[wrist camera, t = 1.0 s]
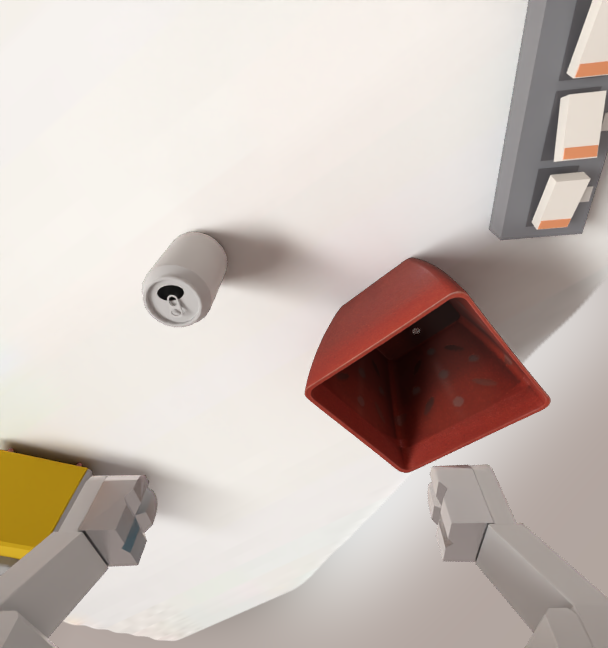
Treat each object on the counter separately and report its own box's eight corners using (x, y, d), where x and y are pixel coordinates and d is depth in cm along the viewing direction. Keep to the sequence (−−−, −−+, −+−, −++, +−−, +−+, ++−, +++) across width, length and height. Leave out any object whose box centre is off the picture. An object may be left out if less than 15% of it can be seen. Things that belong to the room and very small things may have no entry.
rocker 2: (560, 97, 37) (570, 94, 35) (596, 94, 36) (607, 90, 35) (553, 161, 38) (562, 160, 37) (587, 158, 38) (597, 157, 37)
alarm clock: (-2, 485, 80) (-77, 584, 65) (-11, 436, 72) (-99, 538, 56) (96, 504, 83) (47, 603, 68) (99, 460, 75) (44, 562, 60)
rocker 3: (550, 174, 39) (557, 182, 38) (583, 171, 39) (591, 179, 38) (531, 222, 43) (536, 230, 42) (561, 219, 43) (567, 227, 42)
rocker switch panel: (548, -113, 32) (572, -131, 29) (665, -130, 31) (702, -150, 28) (489, 229, 48) (500, 240, 45) (565, 223, 47) (582, 233, 44)
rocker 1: (594, -6, 31) (604, -2, 30) (636, -11, 31) (647, -8, 30) (566, 73, 36) (574, 78, 35) (603, 69, 35) (611, 74, 34)
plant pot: (384, 384, 62) (404, 477, 48) (303, 309, 55) (299, 394, 41) (494, 318, 55) (555, 405, 41) (418, 220, 47) (462, 286, 33)
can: (218, 224, 48) (193, 266, 38) (235, 277, 52) (217, 328, 42) (162, 234, 49) (123, 278, 39) (183, 286, 53) (152, 337, 43)
